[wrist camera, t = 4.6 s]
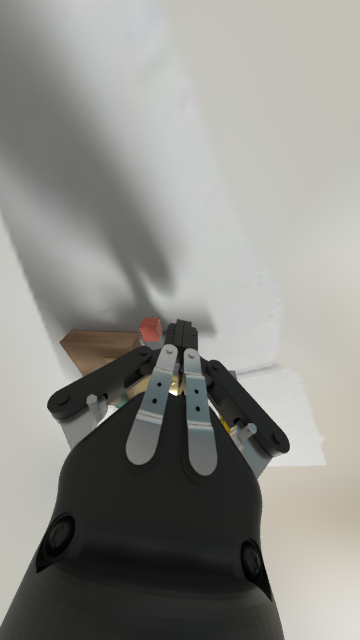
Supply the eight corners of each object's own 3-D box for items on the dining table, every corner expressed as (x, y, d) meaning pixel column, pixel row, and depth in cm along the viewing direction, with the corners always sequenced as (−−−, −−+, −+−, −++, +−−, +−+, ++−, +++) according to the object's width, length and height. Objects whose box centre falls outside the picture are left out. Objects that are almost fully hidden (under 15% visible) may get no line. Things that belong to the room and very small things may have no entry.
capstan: (223, 382, 26) (231, 428, 21) (132, 380, 28) (117, 422, 23) (235, 293, 16) (257, 338, 11) (91, 301, 18) (46, 342, 13)
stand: (153, 395, 32) (148, 420, 28) (109, 392, 33) (98, 416, 29) (137, 332, 21) (125, 359, 17) (71, 330, 22) (46, 355, 18)
